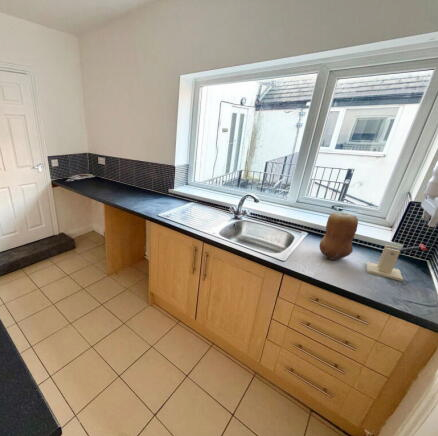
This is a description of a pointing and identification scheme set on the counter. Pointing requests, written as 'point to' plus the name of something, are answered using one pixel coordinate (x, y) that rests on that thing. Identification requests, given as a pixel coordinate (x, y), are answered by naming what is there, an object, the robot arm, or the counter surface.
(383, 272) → the stand
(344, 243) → the butternut squash
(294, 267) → the counter surface
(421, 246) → the lever
